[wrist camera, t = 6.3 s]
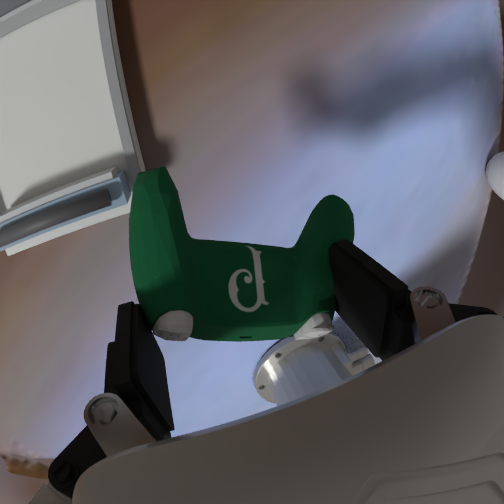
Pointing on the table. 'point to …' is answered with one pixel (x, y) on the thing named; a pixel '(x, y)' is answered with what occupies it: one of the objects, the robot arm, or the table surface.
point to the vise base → (61, 103)
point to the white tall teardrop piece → (496, 174)
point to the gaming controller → (230, 272)
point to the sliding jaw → (64, 206)
